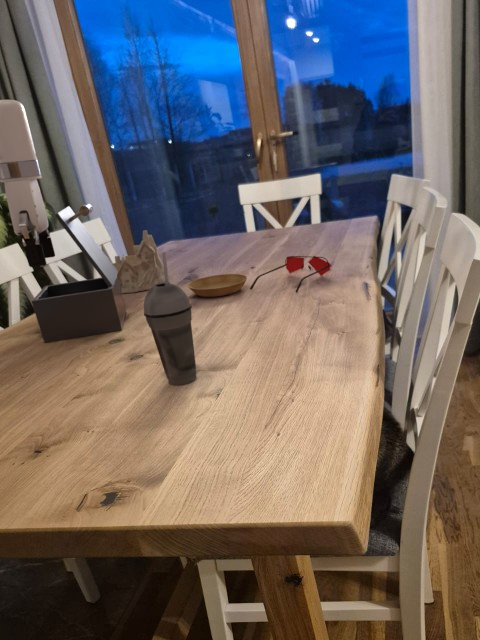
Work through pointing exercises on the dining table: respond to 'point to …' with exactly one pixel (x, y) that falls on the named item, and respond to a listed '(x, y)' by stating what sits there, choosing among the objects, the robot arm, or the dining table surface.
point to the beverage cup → (172, 329)
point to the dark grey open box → (79, 309)
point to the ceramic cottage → (140, 267)
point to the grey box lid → (87, 242)
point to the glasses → (298, 263)
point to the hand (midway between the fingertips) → (43, 261)
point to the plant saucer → (218, 285)
